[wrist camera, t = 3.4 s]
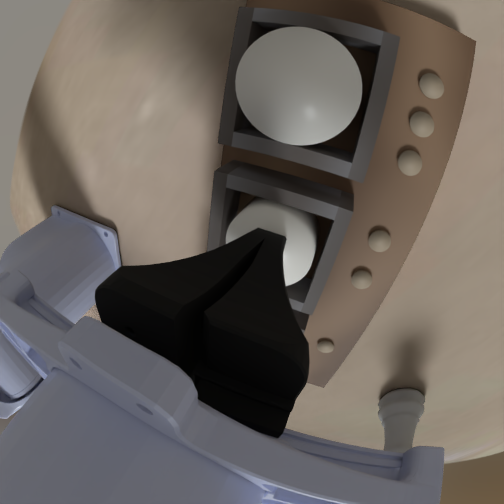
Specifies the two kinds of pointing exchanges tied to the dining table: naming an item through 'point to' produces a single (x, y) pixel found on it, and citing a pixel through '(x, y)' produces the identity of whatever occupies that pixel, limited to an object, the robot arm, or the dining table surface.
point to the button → (298, 86)
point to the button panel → (350, 159)
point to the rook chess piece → (400, 417)
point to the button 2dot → (281, 232)
